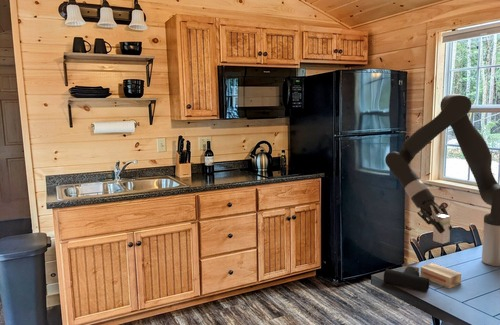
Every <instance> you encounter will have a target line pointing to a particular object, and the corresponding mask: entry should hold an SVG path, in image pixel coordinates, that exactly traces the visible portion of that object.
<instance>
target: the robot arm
mask: <svg viewBox="0 0 500 325" xmlns="http://www.w3.org/2000/svg"><path fill="white" fill-rule="evenodd" d="M439 105H440V106H439V107H440V110H441V111H440V112H439V114H437V116H435V117H434V118H433V119H432V120H430V121H429V122H428V123H426V124H424V125H422V126H421V127H420V128H418V129H417V130H416V131H414V133H412V134H411V135H410V136H408V138H407V139H406V140H405V141H404V142H403V143H402V146H401V147H402V148H400V150H399V151H391V152H388V153H387V154H386V156H385V160H384V162H385V164H386V166H387V168H388V169H389V170H390V171H391V172H392V174H394V176H395V177H396V178H397V180H398V181H399V183H400V184H401V186H402V187H403V189H404V191H405V192H406V194H407V196H408V197H409V199H410V200H411V201H412V203H413V204H414V206H416V208H417V209H419V211H417V213H416V214H417V215H418V216H419V217H420V218H421V219H422V220H423V221H424V222H425V223H426V224H427V225H431V226H435V228H436V229H437V231H438V232H439V233H443V232H444V231H445V229H444V228H443V227H442V225H441V224H440V223H439V222H438V220H437V218H436V216H437V214H444V215H448V216H450V215H449V214H448V211H447V209H446V207H445V205H444V204H441V205H439V204H437V202H435V196H434V194H432V192H431V191H430V189H429V188H428V187H427V185H426V184H425V183H424V181H422V180H421V178H420V177H419V175H417V173H416V172H415V171H414V170H413V169H412V168H411V167H410V164H411V162H412V161H413V159H414V158H415V157H416V156H417V154H418V153H420V152H421V151H422V150H423V149H424V148H425V147H427V146H428V144H430V143H431V141H433V140H434V139H435V138H436V137H438V136H439V135H440V134H441V133H442V132H444V131H445V130H446V129H448V128H449V127H451V129H452V132H453V133H454V137H455V139H456V141H457V143H458V146H459V148H460V151H461V153H462V155H463V157H464V160H465V161H466V163H467V165H468V167H469V170H470V171H471V173H472V176H473V178H474V180H475V183H476V186H477V189H478V193H479V195H480V198H481V199H482V201H483V202H484V203H485V204H486V205H489V206H490V213H486V214H484V215H483V229H482V230H483V231H482V248H481V249H482V252H481V261H482V263H484V264H486V265H489V266H493V267H500V183H498V182H497V180H496V178H495V176H494V173H493V170H492V160H493V158H492V153H491V151H490V148H489V146H488V144H487V142H486V140H485V138H484V137H483V136H482V134H481V133H480V132H479V131H478V129H477V128H476V127H475V126H474V124H473V123H472V121H471V119H470V118H469V115H468V113H469V112H471V109H472V100H471V99H470V98H469V97H468V96H466V95H464V94H460V93H459V94H458V93H449V94H447V95H445V96H444V97H443V98H442V99H441V101H440V104H439ZM453 228H454V227H453V226H452V225H451V224H450V231H451V230H453Z"/></svg>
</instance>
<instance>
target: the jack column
mask: <svg viewBox="0 0 500 325" xmlns="http://www.w3.org/2000/svg"><path fill="white" fill-rule="evenodd" d="M448 215H449V214H448ZM448 215H445V214H440V213H439V214H437V216H436V218H437V220H438V222H439V223H440V224H441V225H442V227H443V228H444V229H445V231H444V232H443V233H439V232H438V231H437V229H436V228H435V226H434V225H432V226H433V228H432V230H433V231H432V232H433V233H432V241H433V242H436V243H439V244H442V245H444V244H446V243H450V237H451V236H450V234H451V230H450V225H451V215H449V216H448Z"/></svg>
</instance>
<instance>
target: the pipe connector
mask: <svg viewBox="0 0 500 325" xmlns="http://www.w3.org/2000/svg"><path fill="white" fill-rule="evenodd" d="M383 282H384V283H388V284H391V285H396V286H400V287H404V288H407V289H412V290H416V291H419V292H422V293H423V292H424V293H428V292H429V289H430V280H429V278H424V277H421V275H420V267H416V266H413V265H406V267H405V269H404V271H398V270H395V269H394V270H393V269H390V268H386V269H385V270H384V272H383Z"/></svg>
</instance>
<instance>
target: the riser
mask: <svg viewBox="0 0 500 325" xmlns="http://www.w3.org/2000/svg"><path fill="white" fill-rule="evenodd" d="M420 277H424V278H429V282H433V283H436V284H438V285H440V286H443V287H445V288H447V289H451V288H454V287H456V286H458V285H461V284H462V273H461V272H458V271H455V270H453V269H451V268H447V267H444V266H442V265H438V264H436V263H434V262H431V263H428V264H425V265H422V266H420Z"/></svg>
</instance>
